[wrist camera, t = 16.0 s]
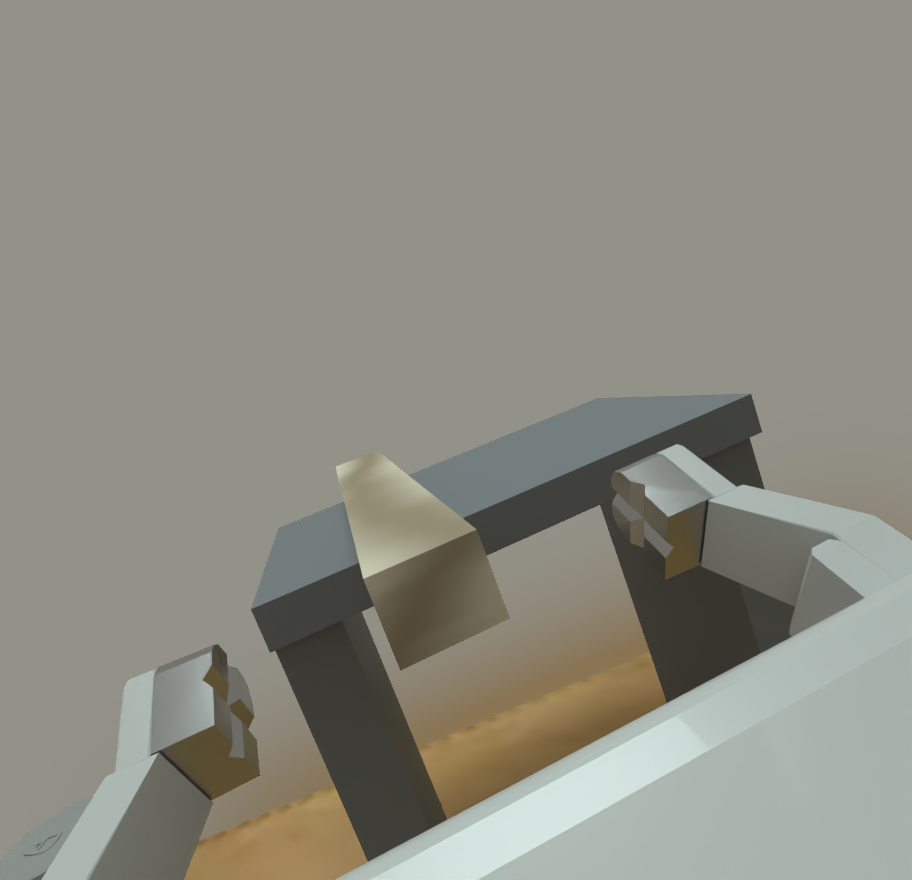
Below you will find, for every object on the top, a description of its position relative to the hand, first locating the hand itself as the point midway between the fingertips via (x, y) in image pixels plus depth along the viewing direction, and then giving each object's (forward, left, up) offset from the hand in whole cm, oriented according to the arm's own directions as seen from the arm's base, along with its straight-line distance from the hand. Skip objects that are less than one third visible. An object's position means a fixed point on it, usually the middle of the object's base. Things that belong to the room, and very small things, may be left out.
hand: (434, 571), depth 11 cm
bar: (0, -16, -3) cm, 16 cm away
